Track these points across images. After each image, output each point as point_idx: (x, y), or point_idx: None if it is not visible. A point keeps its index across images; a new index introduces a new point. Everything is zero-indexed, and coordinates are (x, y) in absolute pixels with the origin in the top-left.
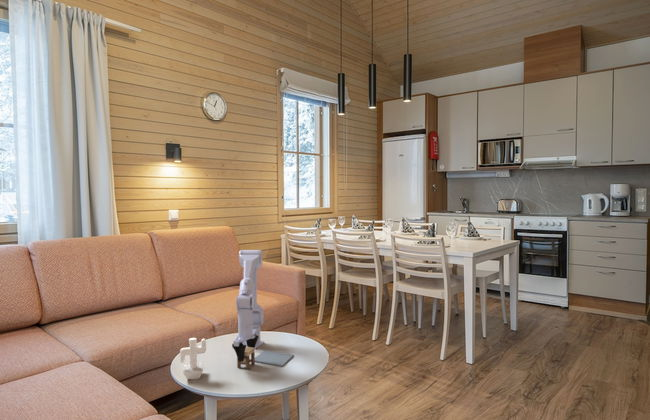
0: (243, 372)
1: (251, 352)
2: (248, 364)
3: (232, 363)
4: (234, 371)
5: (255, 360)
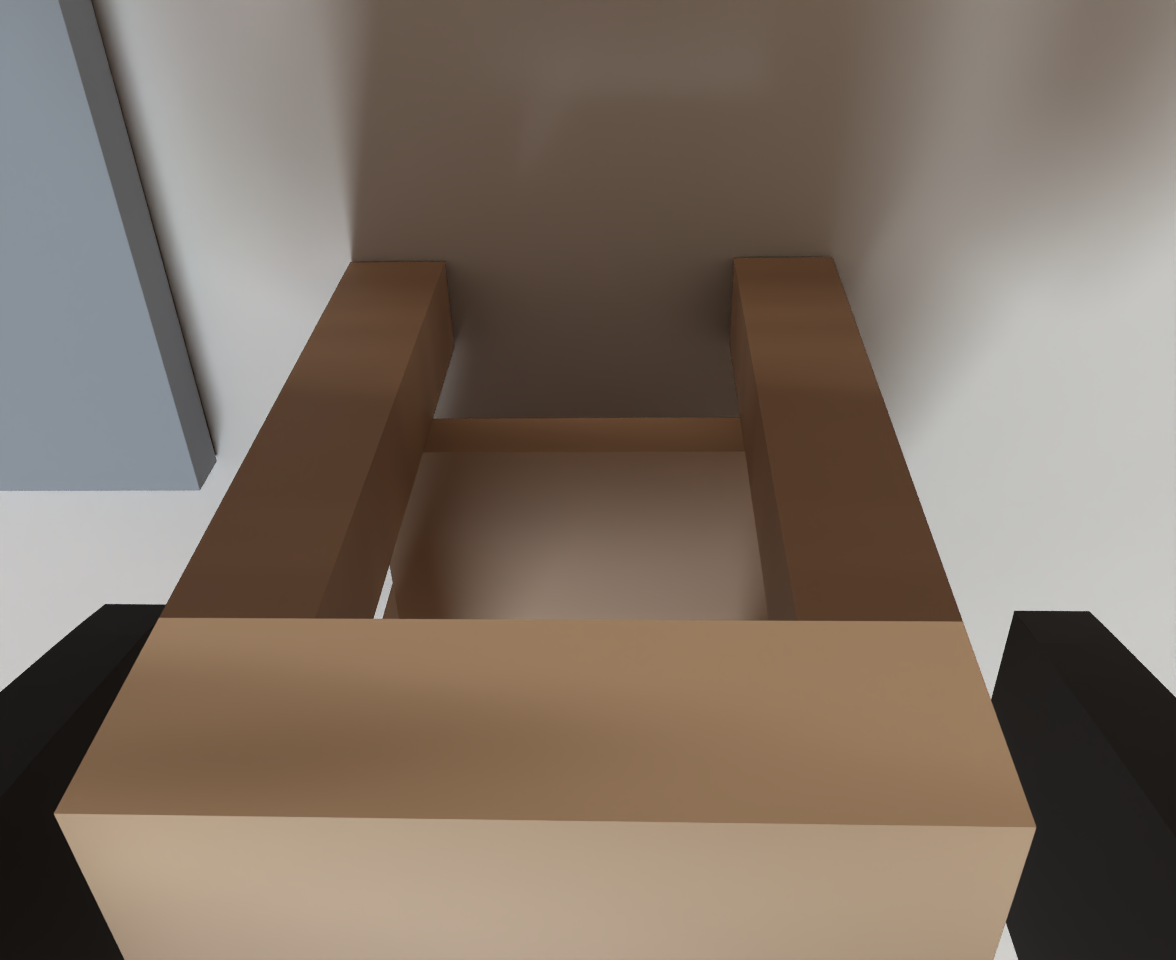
0: (1088, 295)
1: (514, 674)
2: (836, 348)
3: None
4: (1060, 574)
5: (145, 368)
